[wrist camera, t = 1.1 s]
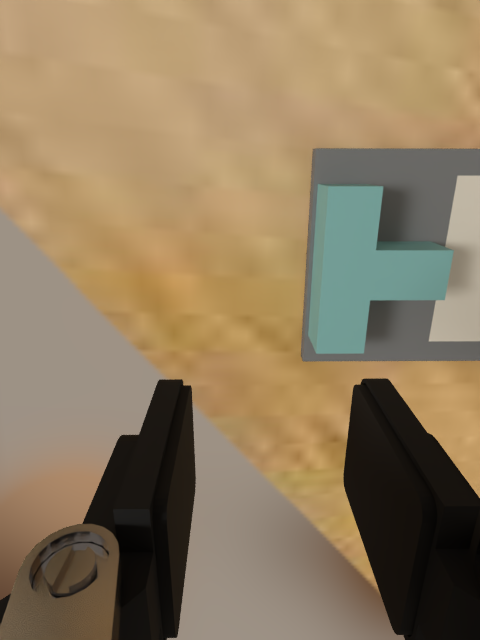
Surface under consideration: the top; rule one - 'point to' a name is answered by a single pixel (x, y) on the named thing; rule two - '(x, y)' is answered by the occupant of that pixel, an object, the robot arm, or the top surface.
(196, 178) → the top surface
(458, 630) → the robot arm
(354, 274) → the t block
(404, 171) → the board
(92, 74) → the top surface
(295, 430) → the top surface
